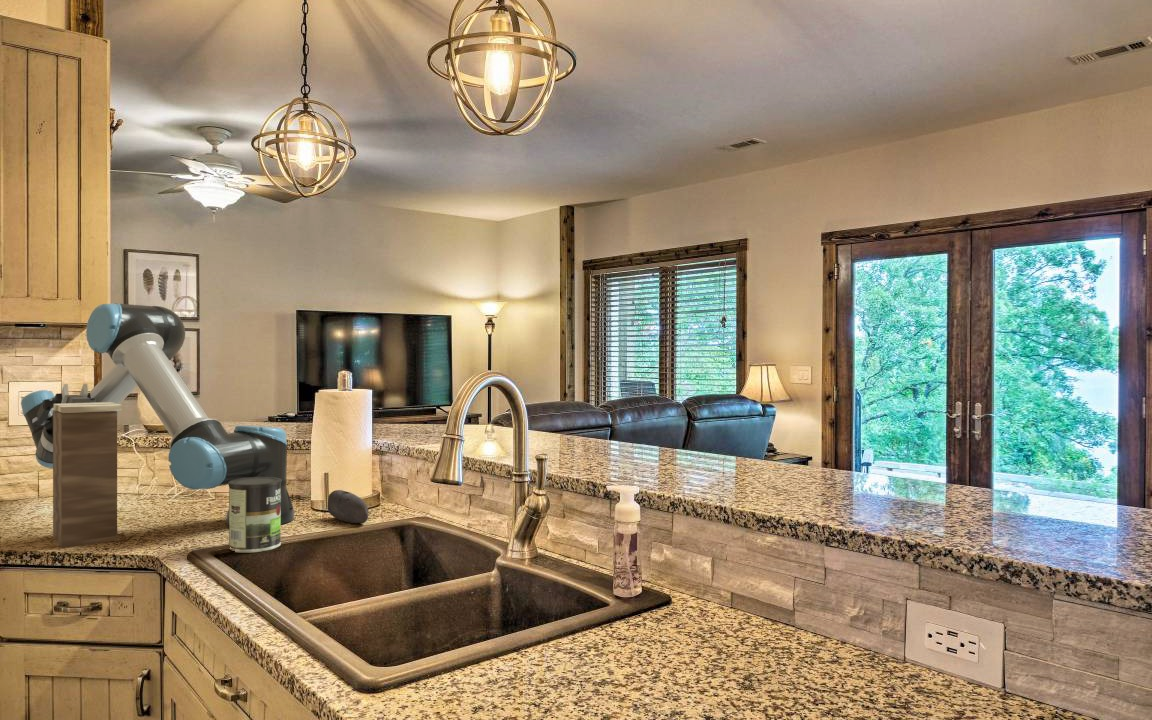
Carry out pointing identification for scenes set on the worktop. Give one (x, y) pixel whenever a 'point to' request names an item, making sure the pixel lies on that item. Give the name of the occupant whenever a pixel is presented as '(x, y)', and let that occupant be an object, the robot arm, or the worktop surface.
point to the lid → (85, 405)
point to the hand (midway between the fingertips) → (76, 389)
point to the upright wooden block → (84, 478)
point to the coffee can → (254, 514)
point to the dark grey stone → (347, 507)
